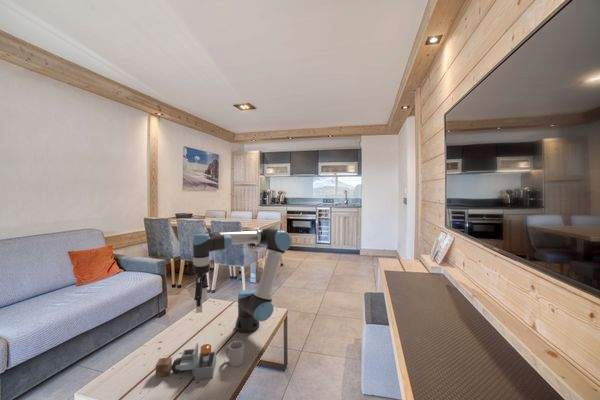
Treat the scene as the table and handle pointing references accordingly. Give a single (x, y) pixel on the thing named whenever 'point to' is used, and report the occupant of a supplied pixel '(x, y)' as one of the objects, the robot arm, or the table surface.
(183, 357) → the grey bracket
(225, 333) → the table surface
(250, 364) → the table surface
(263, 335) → the table surface
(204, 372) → the bin
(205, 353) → the pin
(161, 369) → the block
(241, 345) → the cup
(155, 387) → the table surface
